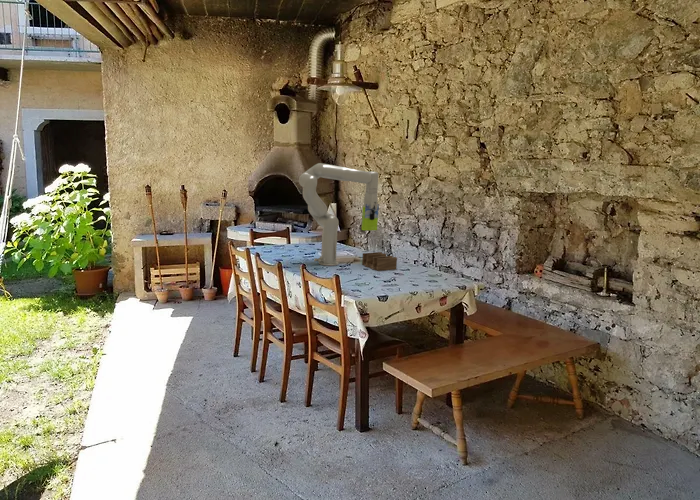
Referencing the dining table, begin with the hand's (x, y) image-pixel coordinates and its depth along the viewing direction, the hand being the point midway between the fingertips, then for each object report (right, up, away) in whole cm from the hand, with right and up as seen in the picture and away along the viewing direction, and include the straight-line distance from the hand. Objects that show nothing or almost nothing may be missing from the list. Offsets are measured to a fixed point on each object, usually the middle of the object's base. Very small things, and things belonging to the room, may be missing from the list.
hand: (369, 218), depth 362 cm
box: (0, -7, +1) cm, 8 cm away
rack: (+5, -31, -9) cm, 33 cm away
